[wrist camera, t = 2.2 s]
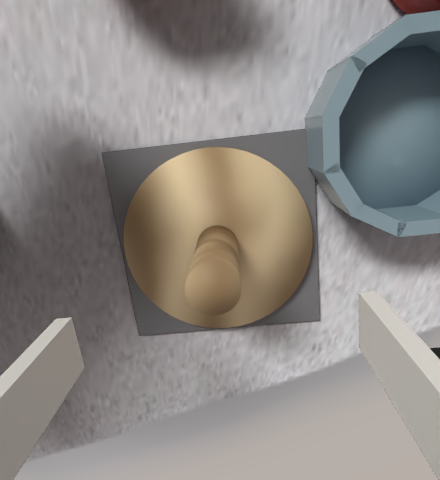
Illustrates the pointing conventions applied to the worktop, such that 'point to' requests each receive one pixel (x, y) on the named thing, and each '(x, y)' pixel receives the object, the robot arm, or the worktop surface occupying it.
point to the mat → (263, 145)
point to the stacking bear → (418, 5)
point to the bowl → (383, 129)
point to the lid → (218, 237)
